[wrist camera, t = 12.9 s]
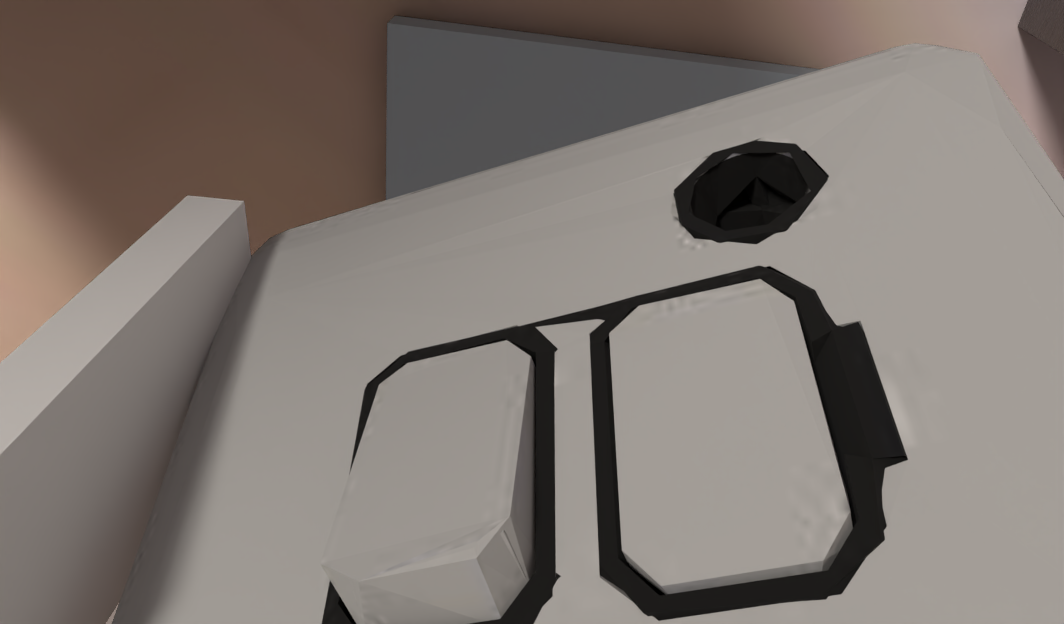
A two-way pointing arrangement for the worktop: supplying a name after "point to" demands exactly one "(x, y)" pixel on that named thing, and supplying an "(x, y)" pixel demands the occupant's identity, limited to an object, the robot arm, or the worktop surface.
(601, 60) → the pad
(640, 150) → the electrical switch
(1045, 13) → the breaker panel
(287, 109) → the worktop surface
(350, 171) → the worktop surface
